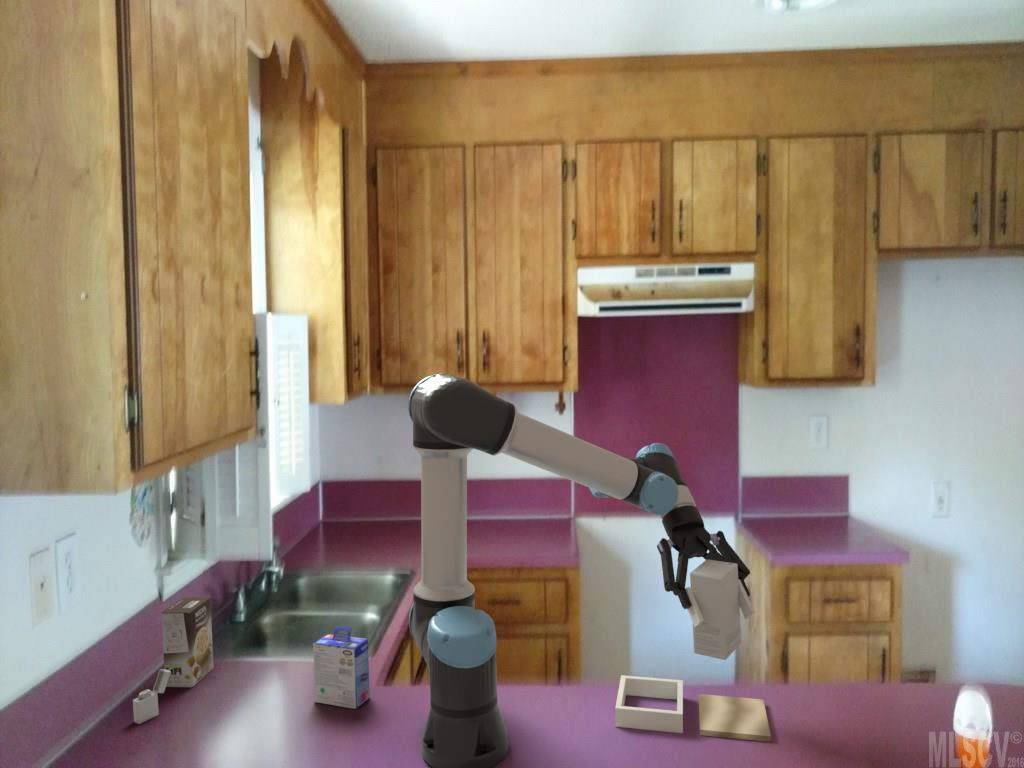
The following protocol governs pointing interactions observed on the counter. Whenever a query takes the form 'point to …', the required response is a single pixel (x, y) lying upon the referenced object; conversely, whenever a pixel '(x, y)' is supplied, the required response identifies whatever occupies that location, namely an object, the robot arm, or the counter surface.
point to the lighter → (150, 699)
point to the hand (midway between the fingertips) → (725, 619)
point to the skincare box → (716, 608)
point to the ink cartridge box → (341, 669)
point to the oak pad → (733, 717)
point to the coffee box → (187, 641)
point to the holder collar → (646, 716)
